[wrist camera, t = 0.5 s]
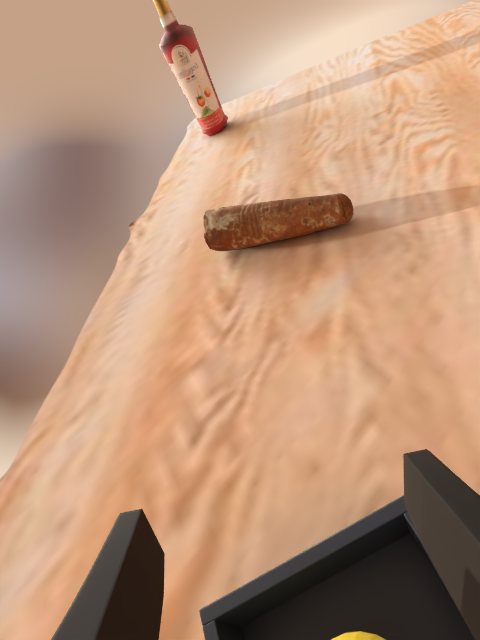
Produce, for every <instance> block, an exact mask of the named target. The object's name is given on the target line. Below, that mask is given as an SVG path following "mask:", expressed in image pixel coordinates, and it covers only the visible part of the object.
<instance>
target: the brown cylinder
mask: <svg viewBox="0 0 480 640" xmlns="http://www.w3.org/2000/svg"><path fill="white" fill-rule="evenodd" d="M352 216H353V206H352V202H351V200H350V199H349V198H348V197H347V196H346V195H344V194H333V195H326V196H316V197H305V198H298V199H286V200H278V201H269V202H261V203H253V204H246V205H238V206H230V207H223V208H219V209H213V210H207V211H206V212H205V215H204V228H205V233H204V238H205V241H206V243H207V245H208V247H209V248H210V249H212V250H215V251H229V250H237V249H243V248H247V247H252V246H255V245H260V244H265V243H268V242H272V241H279V240H283V239H287V238H292V237H297V236H301V235H305V234H309V233H312V232H316V231H320V230H325V229H328V228H332V227H335V226H338V225H342V224H345V223H347V222H348V221H349V220H350V219H351V218H352Z"/></svg>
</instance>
